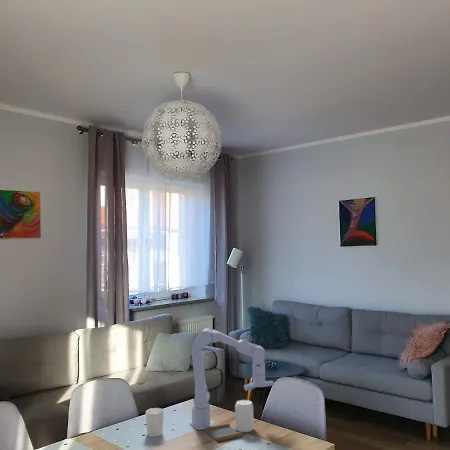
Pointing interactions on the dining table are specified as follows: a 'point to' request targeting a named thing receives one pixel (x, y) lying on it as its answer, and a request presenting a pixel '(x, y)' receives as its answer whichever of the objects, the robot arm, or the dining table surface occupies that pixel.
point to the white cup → (154, 422)
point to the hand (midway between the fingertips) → (259, 403)
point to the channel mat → (222, 432)
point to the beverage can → (244, 416)
